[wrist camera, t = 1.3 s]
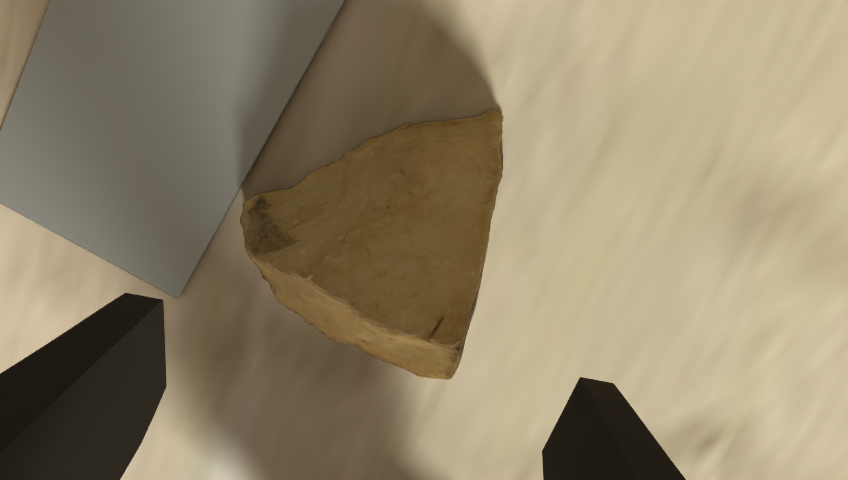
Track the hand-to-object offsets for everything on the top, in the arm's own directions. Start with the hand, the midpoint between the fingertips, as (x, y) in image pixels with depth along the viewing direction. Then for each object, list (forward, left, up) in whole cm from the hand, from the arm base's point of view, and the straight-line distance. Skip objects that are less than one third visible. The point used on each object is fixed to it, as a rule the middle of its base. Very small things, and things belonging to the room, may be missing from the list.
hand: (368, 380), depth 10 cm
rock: (+1, +1, -15) cm, 15 cm away
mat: (+10, -2, -14) cm, 17 cm away
